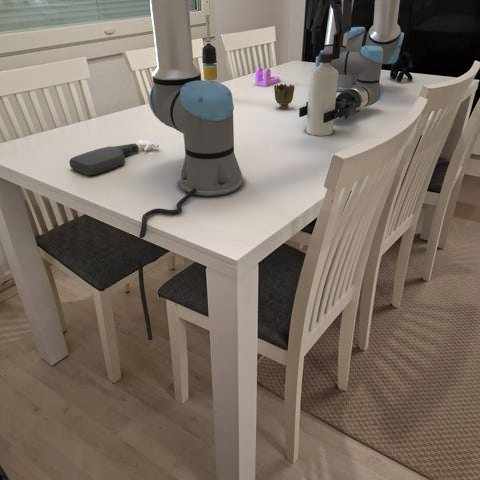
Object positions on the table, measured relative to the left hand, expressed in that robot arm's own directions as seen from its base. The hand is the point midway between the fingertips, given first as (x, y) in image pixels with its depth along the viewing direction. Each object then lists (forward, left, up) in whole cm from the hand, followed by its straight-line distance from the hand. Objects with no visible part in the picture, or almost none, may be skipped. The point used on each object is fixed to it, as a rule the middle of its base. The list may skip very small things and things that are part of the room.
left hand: (325, 57), depth 131 cm
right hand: (-4, +2, -16) cm, 17 cm away
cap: (0, 0, +1) cm, 1 cm away
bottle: (0, 0, -22) cm, 22 cm away
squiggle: (+80, -21, -22) cm, 86 cm away
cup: (+22, +18, -22) cm, 36 cm away
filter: (+27, +49, -22) cm, 60 cm away
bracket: (+60, +35, -22) cm, 73 cm away
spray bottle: (-41, +49, -22) cm, 68 cm away
